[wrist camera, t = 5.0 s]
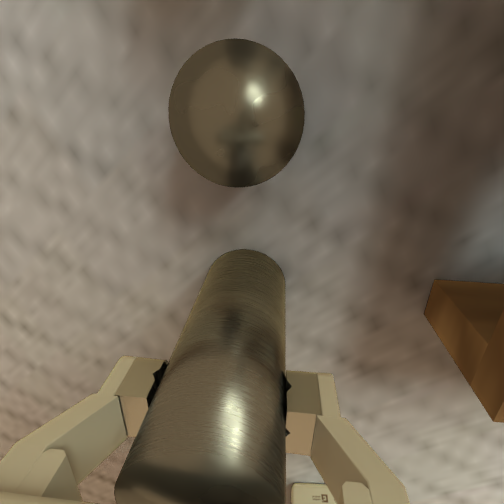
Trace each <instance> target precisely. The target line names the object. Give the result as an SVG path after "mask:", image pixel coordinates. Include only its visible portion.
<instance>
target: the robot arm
mask: <svg viewBox="0 0 504 504" xmlns="http://www.w3.org/2000/svg"><path fill="white" fill-rule="evenodd" d="M167 365H168V361H166V360H161V359H152V358H143V357H132V356H123V357H121V358H120V359H119V360H118V362H117V364H116V365H115V367H114V368H113V370H112V371H111V373H110V374H109V376H108V378H107V379H106V381H105V382H104V384H103V385H102V387H101V388H100V390H99V392H98V393H97V394H91V395H90V396H88V397H87V398H85V399H84V400H82V401H80V402H79V403H77V404H76V405H74V406H73V407H71V408H69V409H68V410H66V411H65V412H63V413H62V414H60V415H58V416H57V417H55V418H54V419H52V420H51V421H49V422H47V423H46V424H44V425H43V426H41V427H40V428H38V429H36V430H35V431H33V432H32V433H30V434H29V435H27V436H25V437H24V438H22V439H21V440H19V441H18V442H16V443H15V444H14V445H13V446H12V448H11V449H10V450H9V452H8V453H7V454H6V455H5V457H4V458H3V459H2V460H1V462H0V504H98V503H90V502H83V500H82V498H81V495H80V492H79V489H78V486H77V485H78V484H80V483H81V482H82V481H83V480H84V479H85V478H86V477H87V476H88V475H89V474H90V473H91V472H92V471H93V470H94V469H95V468H96V467H97V466H98V465H99V464H101V463H102V462H103V461H104V460H105V459H106V458H107V457H108V456H109V455H110V454H111V453H112V452H113V451H114V450H115V449H116V448H117V447H118V446H119V445H120V444H122V443H123V442H124V441H125V440H126V439H127V436H128V437H136V436H137V433H138V431H139V429H140V426H141V424H142V422H143V420H144V417H145V415H146V413H147V411H148V408H149V406H150V404H151V401H152V399H153V397H154V395H155V392H156V390H157V388H158V386H159V383H160V381H161V379H162V377H163V374H164V372H165V370H166V367H167ZM285 395H286V405H285V426H286V453H293V454H301V455H308V456H310V457H311V459H312V461H313V463H314V464H315V466H316V468H317V470H318V471H319V473H320V475H321V477H322V478H323V480H324V482H325V484H326V485H327V487H328V489H329V491H330V492H331V494H332V496H333V497H334V499H335V501H336V503H337V504H410V502H409V499H408V496H407V492H406V489H405V486H404V485H403V484H402V483H401V482H400V481H399V479H398V478H397V477H396V476H395V475H394V474H393V472H392V471H391V470H390V469H389V468H388V467H387V465H386V464H385V463H384V462H383V461H382V460H381V459H380V457H379V456H378V455H377V454H376V453H375V452H374V450H373V449H372V448H371V447H370V446H369V445H368V443H367V442H366V441H365V440H364V439H363V438H362V436H361V435H360V434H359V433H358V432H357V431H356V430H355V428H354V427H353V426H352V425H351V424H350V423H349V421H348V420H347V419H346V418H341V416H340V410H339V405H338V399H337V393H336V388H335V382H334V377H333V375H332V374H329V373H316V372H303V371H290V370H286V377H285Z"/></svg>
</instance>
